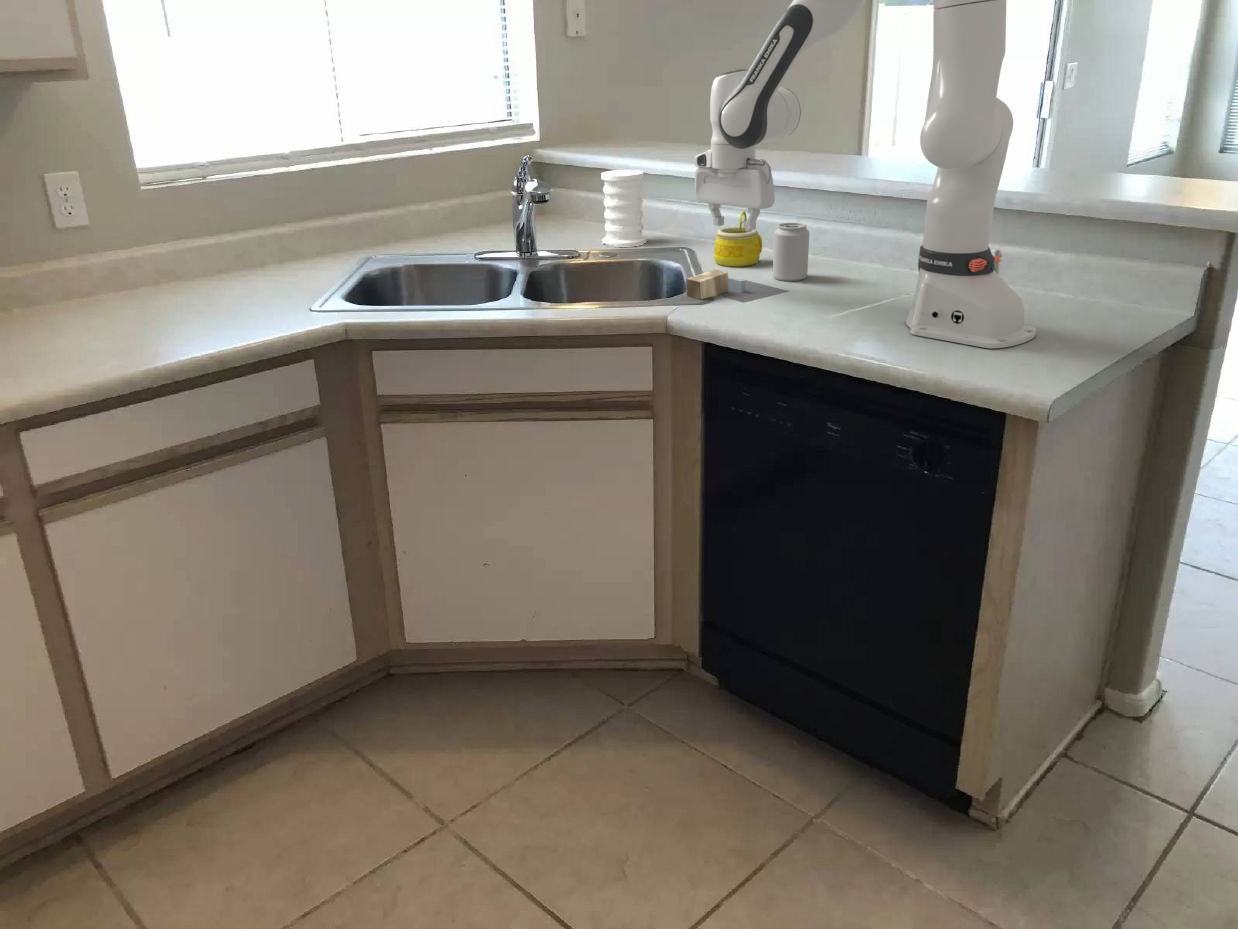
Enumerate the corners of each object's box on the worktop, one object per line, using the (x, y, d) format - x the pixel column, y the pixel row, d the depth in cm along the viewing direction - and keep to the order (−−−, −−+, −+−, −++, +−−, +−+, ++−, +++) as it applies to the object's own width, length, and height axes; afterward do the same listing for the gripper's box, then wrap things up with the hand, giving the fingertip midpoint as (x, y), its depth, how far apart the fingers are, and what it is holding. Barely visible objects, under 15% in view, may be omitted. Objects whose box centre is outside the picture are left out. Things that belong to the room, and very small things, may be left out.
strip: (745, 291, 197) (745, 280, 196) (740, 292, 197) (741, 281, 196) (719, 284, 203) (719, 273, 202) (715, 285, 202) (715, 274, 201)
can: (805, 275, 210) (808, 220, 205) (808, 283, 203) (811, 227, 198) (771, 275, 211) (773, 221, 206) (773, 283, 204) (775, 227, 199)
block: (727, 272, 195) (698, 282, 191) (728, 290, 197) (699, 301, 193) (714, 269, 198) (685, 278, 194) (715, 287, 200) (687, 297, 196)
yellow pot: (732, 271, 215) (733, 218, 210) (704, 263, 224) (704, 212, 219) (776, 263, 221) (778, 211, 216) (747, 256, 230) (748, 205, 225)
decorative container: (630, 237, 256) (628, 168, 248) (654, 243, 247) (653, 172, 240) (594, 242, 250) (591, 172, 243) (617, 249, 241) (615, 177, 234)
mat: (789, 292, 197) (789, 290, 196) (743, 304, 190) (743, 302, 190) (742, 281, 207) (742, 279, 207) (698, 291, 200) (698, 289, 200)
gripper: (782, 157, 182) (781, 230, 188) (711, 153, 198) (713, 220, 203) (758, 161, 179) (758, 235, 185) (688, 157, 194) (690, 225, 200)
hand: (734, 227), depth 194 cm, fingers open, 8 cm apart
